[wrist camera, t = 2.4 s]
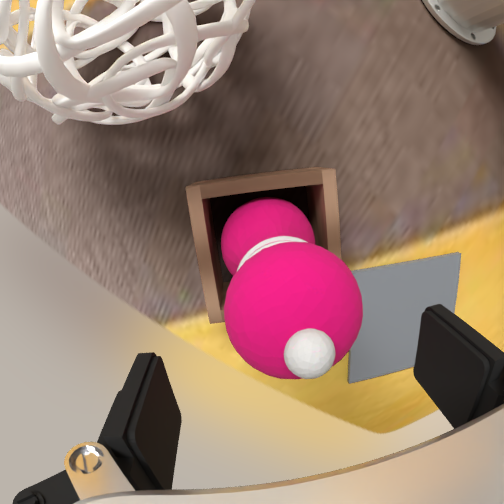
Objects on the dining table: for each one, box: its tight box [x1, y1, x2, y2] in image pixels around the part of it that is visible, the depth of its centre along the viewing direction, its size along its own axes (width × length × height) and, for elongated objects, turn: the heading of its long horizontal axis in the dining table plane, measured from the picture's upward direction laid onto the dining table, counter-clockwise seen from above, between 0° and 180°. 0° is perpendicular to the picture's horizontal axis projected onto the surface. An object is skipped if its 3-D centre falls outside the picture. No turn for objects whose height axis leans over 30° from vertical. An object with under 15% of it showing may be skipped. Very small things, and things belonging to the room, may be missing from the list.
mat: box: [348, 252, 461, 383], centre depth 32 cm, size 14×14×1 cm
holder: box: [185, 167, 341, 324], centre depth 26 cm, size 11×11×6 cm
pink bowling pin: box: [221, 197, 363, 379], centre depth 19 cm, size 7×7×20 cm
